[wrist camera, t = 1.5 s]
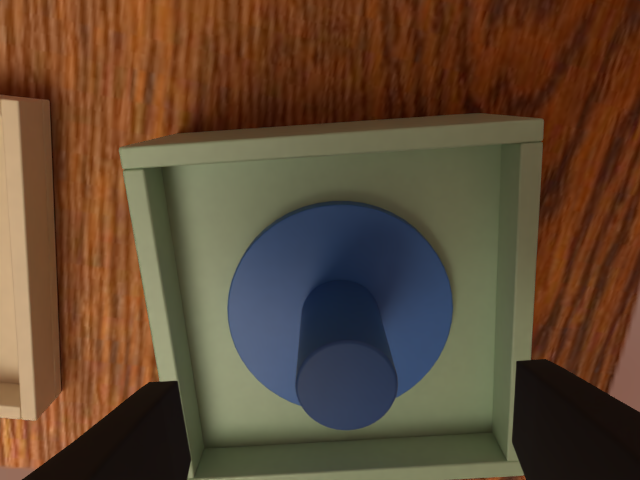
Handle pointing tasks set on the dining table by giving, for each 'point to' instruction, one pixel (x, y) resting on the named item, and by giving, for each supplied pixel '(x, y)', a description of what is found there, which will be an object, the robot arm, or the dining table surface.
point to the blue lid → (340, 310)
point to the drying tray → (27, 261)
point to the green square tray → (358, 186)
